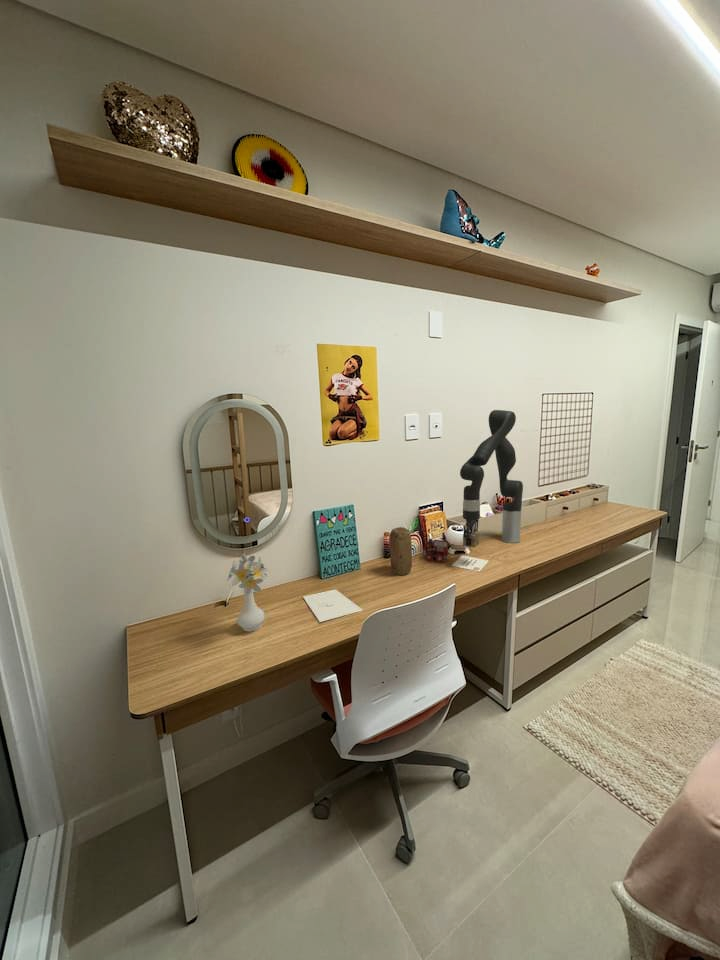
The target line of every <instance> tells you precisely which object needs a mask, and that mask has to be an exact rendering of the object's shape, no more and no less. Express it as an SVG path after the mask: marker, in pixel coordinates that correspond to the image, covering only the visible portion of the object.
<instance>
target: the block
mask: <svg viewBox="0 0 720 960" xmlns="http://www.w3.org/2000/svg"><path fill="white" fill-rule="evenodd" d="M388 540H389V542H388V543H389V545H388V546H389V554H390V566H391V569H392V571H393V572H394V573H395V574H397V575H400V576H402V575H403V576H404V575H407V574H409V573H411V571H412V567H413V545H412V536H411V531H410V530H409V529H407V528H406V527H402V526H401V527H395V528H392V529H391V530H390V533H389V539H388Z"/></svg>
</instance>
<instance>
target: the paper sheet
mask: <svg viewBox="0 0 720 960" xmlns="http://www.w3.org/2000/svg"><path fill="white" fill-rule="evenodd" d="M302 598H303V599H304V600H305V602H306V604H307V606H309V608H310V610H311V612H313V614H314V615H315V618H316V620H318V621H319V623H322V622H325V621H326V622H327V621H329V620H333V619H336V618H340V617H344V616H347V615H350V614H354V613H358V612H362V611H363V608H361V607H360V606H358V605H357V604H356V603H354V602H353V601H352V600H351V599H349V598H348V597H347V596H345V595H344V594H342V593H341V592H340V591H339V590H337V589H330V590H326V591H323V592H318V593H313V594H308V595H304V596H302Z"/></svg>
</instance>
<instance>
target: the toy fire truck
mask: <svg viewBox="0 0 720 960" xmlns="http://www.w3.org/2000/svg"><path fill="white" fill-rule="evenodd" d="M448 548H449V540H441V539H434V540H433V539H432V538H428V541H426V542H425V544H424V547H423V548H422V554H423V556H424V557H425V561H427V562H432V561H433V560H434V558H435V561H436V562H437V563H438V564H439V563H440V564H441V563H443V562H444V560H445V559H447V558H448V557H449V556H448V555H449V553H448ZM433 549H434V550H433Z"/></svg>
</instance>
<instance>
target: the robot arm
mask: <svg viewBox="0 0 720 960" xmlns="http://www.w3.org/2000/svg"><path fill="white" fill-rule="evenodd" d="M516 421H517V417H516V413H515V412H514V411H511V410H503V409H501V410H500V409H494V410H492V411H490V413H489V415H488V426H489V427H488V428H489V431H490V433H491V435H490V436H488V437H487V438H486V439H485V440H483V441H482V442H481V443H480V444H479V445H478V447H477V448H476V450H475V452H474V453H473V455H472V456H471V457H470V458H468V460H467V461H465V463H464V464H463V465H461V468H460V471H459V476H460V478H461V479H463V480H465V481H470V482H471V484H469V485H466V486H464V487H463V501H462V519H464V520H466V522H465V525H463V526H462V527H463V528H462V529H463V534H464V537H465V538H466V545H467V546H466V547H468V546H471V536H472V533H473V532H477V533H478V532H479V531H478V530H479V520H480V518H481V501H480V499H481V498H480V497H481V496H480V495H481V494H480V493H481V492H480V491H481V488H482V485H483V480H484V479H485V478H484V477H485V472H484V471H485V470H484V469H483V467H482V466H486V465H487V463H488V462H489V460H490V459H491V457H492V455H493V454H494V452H495V459H496V465H497V470H498V477H499V492H500V495H501V496H502V497H505V498H513V499H514V500H512V501H509V502H505V503H503V504H502V520H501V521H502V525H501V526H502V527H501V541H503V542H505V543H511V544H515V543H520V542H521V524H522V522H521V521H522V506H523V505H522V502H523V492H524V484H523V482H522V481H521V480H515V479H514V480H512V479H508V475H509V473H510V472H511V471H512V470H513V469H514V467H515V465H516V462H517V457H516V456H517V455H516V451H515V448H514V446H513V443H511V441H509V440H508V438H507V436H508V435H509V433H510V432H511V430H512V429H513V428H514V426H515V425H516ZM467 534H468V535H467Z"/></svg>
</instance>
